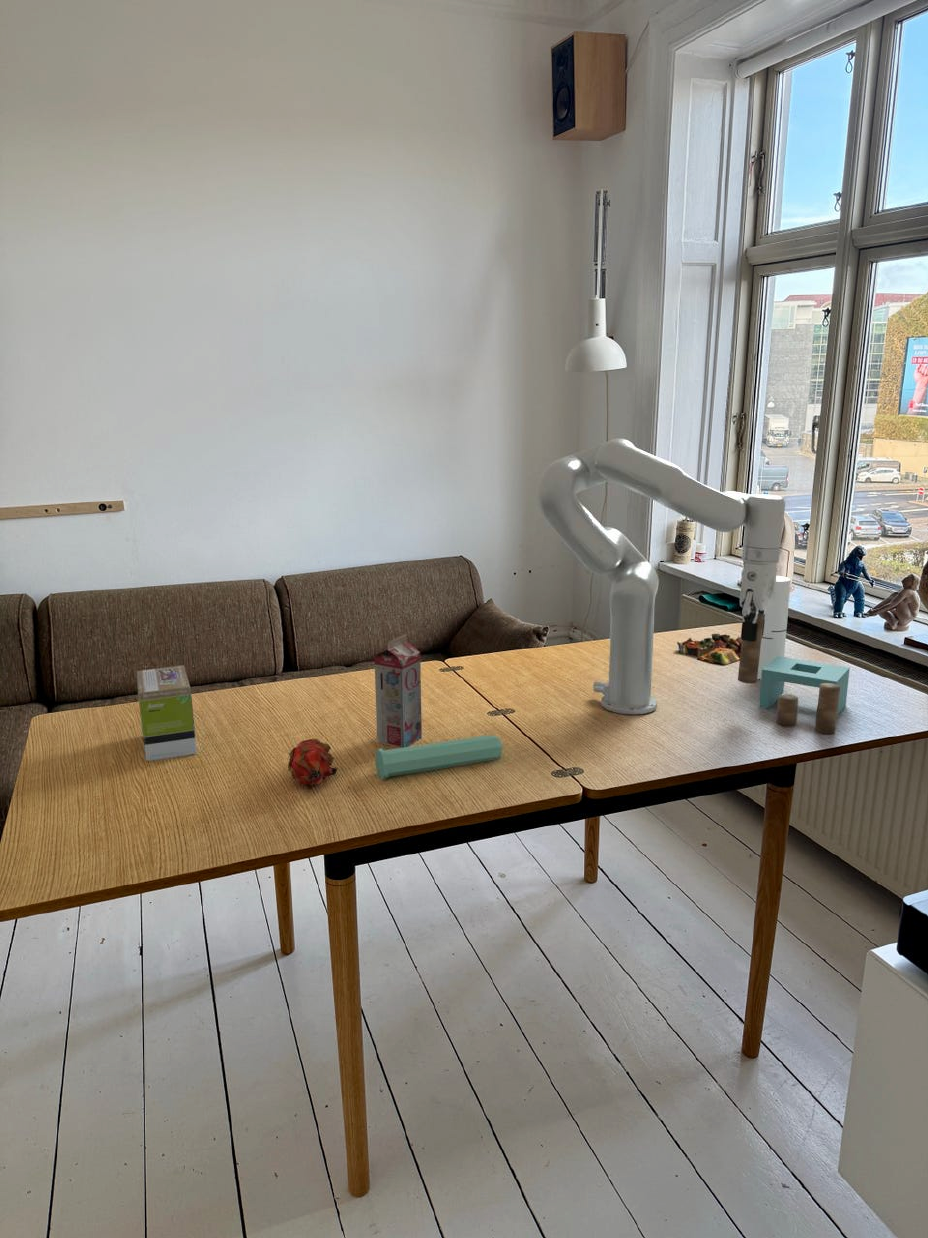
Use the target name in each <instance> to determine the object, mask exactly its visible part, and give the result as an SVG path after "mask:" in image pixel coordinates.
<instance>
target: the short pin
mask: <svg viewBox="0 0 928 1238" xmlns="http://www.w3.org/2000/svg"><path fill="white" fill-rule="evenodd" d="M777 702H778V703H777V712H776V713H777V714H776V723H775V724H776V725H778V726H779V727H784V728H793V727H796V726H797V718H798V708H799V697H798V696H796V695H793V694H788V693H787V694H784V693H783V695H779V698H778V700H777Z"/></svg>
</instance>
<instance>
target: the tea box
mask: <svg viewBox="0 0 928 1238" xmlns="http://www.w3.org/2000/svg"><path fill="white" fill-rule="evenodd" d="M136 684H137V695H138V704H139V705H138V706H139V707H138V708H139V714H140V722H141V723H140V724H141V730H142V731H141V732H142V739H143V746H144V752H145V754H144V755H145V761H147V762H153V761H158V760H159V761H161V760H166V759H173V758H179V757H186V756H193V755H196V754H198V753H197V752H198V751H197V749H198V748H197V741H196V739H197V738H196V728H195V720H194V718H195V717H194V709H193V707H194V706H193V699H192V691H191V689H192V688H191V685H190V681H189V678H188V676H187V671H186V668H185V665H183V664H182V665H175V666H166V667H160V668H151V669H143V670H136Z"/></svg>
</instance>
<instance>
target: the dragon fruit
mask: <svg viewBox="0 0 928 1238" xmlns="http://www.w3.org/2000/svg"><path fill="white" fill-rule="evenodd" d="M330 750H331V746H330V745H329V744H328V743H324V742H323V741H322V742H321V741H320V739H318V738H309V739H306V740H301V741H300V742H299V743H298V744H297V746H296V747H293V749H291V751H290V752H289V753H288V756H289V762H288V765H287V770H288V772H290V775H291V777H292V779H293V780H297V782H298V783H299V784H300V785H301V786H302V787H303V788H305V789H308V790H309V789H311V787H313V785H316V786H319V785H321V784H322V783H324V782H325V781H326V780H327V778H328V777H331V776H335V775H336V774H337V772H338V770H339V769H338V767H332V766H333V763H334V759H335V757H334V756H333V755H332V754H331V753H330Z"/></svg>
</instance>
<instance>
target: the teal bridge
mask: <svg viewBox="0 0 928 1238" xmlns="http://www.w3.org/2000/svg"><path fill="white" fill-rule="evenodd" d="M850 669H851V668H850V667H849V666H844V665H843V666H842V665H835V664H829V663H824V662H818V661H817V662H816V661H811V660H804V659H798V658H791V657H785V656H784V657H780V656H777V657H776V658H775V659H774V660H772V661H771V662H770V663H769V664H768V665H767V666H765V667H764V668H763V669H762V676H761V680H760V690H759V691H760V692H759V704H758V708H761V709H765V708H768V709H769V708H771V707H772V706H773V705H774V704H775V703H777V702H778V698H779V695H782V694H783V695H784V689H785V688H784V687H785V683H789V684H796V685H801V686H808V687H812V688H818V689H819V688H820V684H822V683H832V684H836V685H839V686H840V695H839V704H838V712H837V717H838V715H840V713H841V712H842V711H843V710H844V708H845V707H846V706H847V697H848V687H849V680H850V679H849V678H850Z"/></svg>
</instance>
